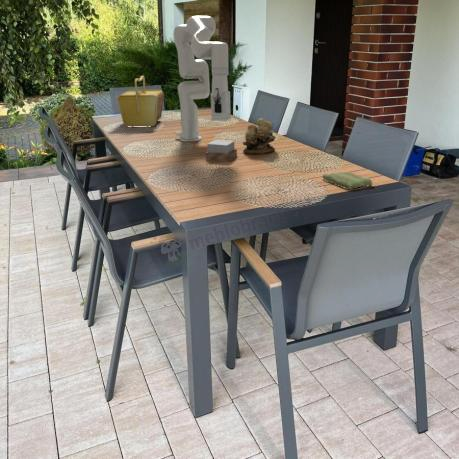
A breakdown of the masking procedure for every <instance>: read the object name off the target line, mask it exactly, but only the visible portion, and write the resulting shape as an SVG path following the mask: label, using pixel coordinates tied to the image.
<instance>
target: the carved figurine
mask: <svg viewBox="0 0 459 459" xmlns="http://www.w3.org/2000/svg"><path fill="white" fill-rule="evenodd" d="M256 123H257V126H256V125H255V124H252V123H250V124H249V125H248V126H247V130H246V131H245V135H244V138H245V139H244V140H245V141H243V142H242V145H243V146H246V147H245V148H244V149H243V151H242V153H243V154H245V155H248V156H251V155H252V156H260V155H268V154H272V153H274V152H275V151H276V148H274V146H273V145H271V144H270V143H272V142H275V140H276V135H274V130H273V127H274V126H273V122H272V121H269V120H266V119H265V118H262V117H259V118H258V119H257V121H256Z"/></svg>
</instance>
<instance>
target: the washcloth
mask: <svg viewBox="0 0 459 459" xmlns="http://www.w3.org/2000/svg"><path fill="white" fill-rule="evenodd" d="M322 178H323V179H322V181H323V180H326V181H328V182H331V183H334V184H336V185H335V186H337V185H339V186H342V187H345V188H347V189H352V190H354V189H353V188H358V187H361V186H367V185H371V186H373V181H372V179H371V178H369V177H364V176H362V175H358V174H354V173H352V172H349V171H342V172H341V171H340V172H332V173H329V174H328V173H325V174H322ZM326 181H325V182H326ZM328 182H327V183H328ZM331 183H330V184H331ZM334 184H333V185H334ZM339 186H338V187H339ZM342 187H341V188H342ZM361 188H362V187H361ZM347 189H346V190H347ZM358 189H359V188H358Z"/></svg>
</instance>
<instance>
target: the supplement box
mask: <svg viewBox="0 0 459 459" xmlns="http://www.w3.org/2000/svg"><path fill="white" fill-rule="evenodd" d="M217 97H220V95H219V92H218V95H217ZM221 108H222V112H221V113H215V106H214V98H213V97H212V92H210V112H211V121H213V122H215V121H216V122H217V121H218V122H227V121H229V120H230V119H231V114H232V113H231V91H229V90H228V91H227V92H224V93H223V95H222V98H221Z"/></svg>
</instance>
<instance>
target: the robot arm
mask: <svg viewBox="0 0 459 459" xmlns="http://www.w3.org/2000/svg"><path fill="white" fill-rule="evenodd" d="M216 24H217V23H216V20H215V19H214V18H213V17H212V16H209V15H193V16H190V17H189V18H187V20H186V22H185V24H178V25H176V26H175V27H173V28H174V29H173V41H174V44H175V48H176V51H177V58H178V59H177V60H178V70H179V71H178V72H179V76H180V78H182V79H185V80H186V79H187V80H188V79H198V80H188V81H187V80H186V81H182V82H180V83H179V84H178V85H177V94H178V100H179V107H180V125H181V131H175V136H179V138H178V139H179V141H180V142H186V143H187V142H188V143H189V142H198V141H201V140H203V138H202V136H201V135H199V107H198V105H197V104H196V103H195V102H194V100H201V99H207V98H208V97H210V94H211V93H212V97H213V98H214V106H215V113H221V112H222V108H221V98H222V95H223V93H224V92H227V91H229V86H228V85H229V84H228V76H229V45H228V43H227V42H222V41H211V38H212V36H213V35H214V34H215V32H216V28H217V26H216ZM195 58H196V59H195ZM207 60H211V75H212V80H211V87H210V70H209V64H208V62H207ZM210 88H211V90H210ZM210 91H211V92H210ZM218 92H219V95H220V97H217V95H218Z"/></svg>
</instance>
